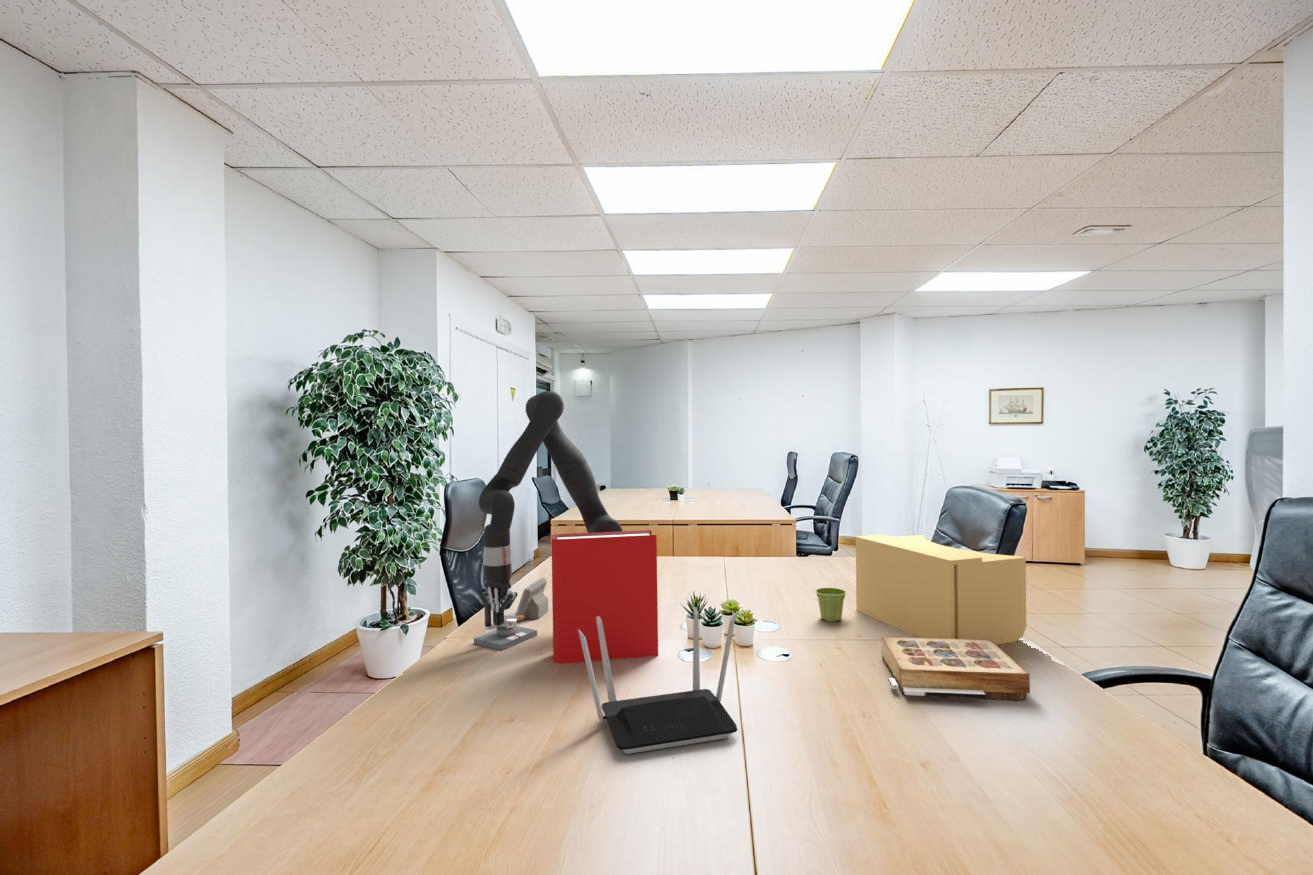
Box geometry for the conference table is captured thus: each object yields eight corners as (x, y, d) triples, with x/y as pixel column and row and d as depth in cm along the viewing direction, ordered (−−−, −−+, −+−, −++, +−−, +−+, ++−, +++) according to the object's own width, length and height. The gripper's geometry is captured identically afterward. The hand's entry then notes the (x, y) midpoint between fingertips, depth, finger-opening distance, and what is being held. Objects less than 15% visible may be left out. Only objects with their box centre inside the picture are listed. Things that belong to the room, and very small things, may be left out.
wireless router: (590, 764, 106) (588, 652, 106) (572, 708, 129) (571, 615, 129) (763, 736, 115) (762, 633, 115) (719, 688, 138) (718, 601, 138)
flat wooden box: (895, 703, 130) (1036, 709, 126) (895, 674, 130) (1035, 679, 126) (873, 661, 154) (990, 665, 150) (873, 636, 154) (990, 639, 150)
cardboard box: (856, 610, 196) (855, 536, 196) (921, 602, 204) (920, 531, 204) (951, 652, 158) (950, 560, 158) (1026, 640, 166) (1025, 553, 166)
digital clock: (534, 606, 206) (534, 575, 205) (557, 609, 202) (556, 577, 202) (506, 620, 190) (505, 587, 190) (530, 623, 187) (529, 589, 187)
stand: (537, 635, 176) (536, 622, 176) (501, 650, 164) (501, 636, 164) (509, 629, 182) (509, 617, 182) (473, 643, 170) (473, 630, 170)
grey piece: (529, 622, 176) (528, 594, 176) (492, 633, 165) (491, 605, 165) (516, 618, 179) (516, 591, 179) (479, 629, 169) (478, 601, 169)
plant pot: (814, 622, 184) (814, 594, 184) (816, 613, 193) (815, 586, 193) (846, 624, 182) (846, 596, 182) (846, 615, 191) (846, 588, 191)
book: (652, 645, 166) (651, 530, 166) (658, 655, 158) (656, 534, 158) (553, 653, 161) (551, 534, 161) (553, 664, 154) (551, 539, 153)
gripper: (524, 561, 165) (525, 624, 165) (490, 557, 172) (491, 617, 172) (504, 566, 159) (506, 632, 159) (470, 562, 165) (471, 624, 165)
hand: (498, 624), depth 165 cm, fingers closed
